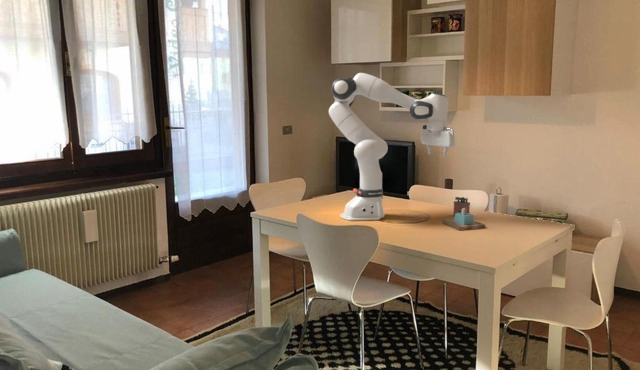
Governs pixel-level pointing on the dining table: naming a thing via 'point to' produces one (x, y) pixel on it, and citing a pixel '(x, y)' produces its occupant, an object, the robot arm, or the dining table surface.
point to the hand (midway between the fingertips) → (437, 154)
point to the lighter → (461, 205)
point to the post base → (460, 226)
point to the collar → (463, 218)
